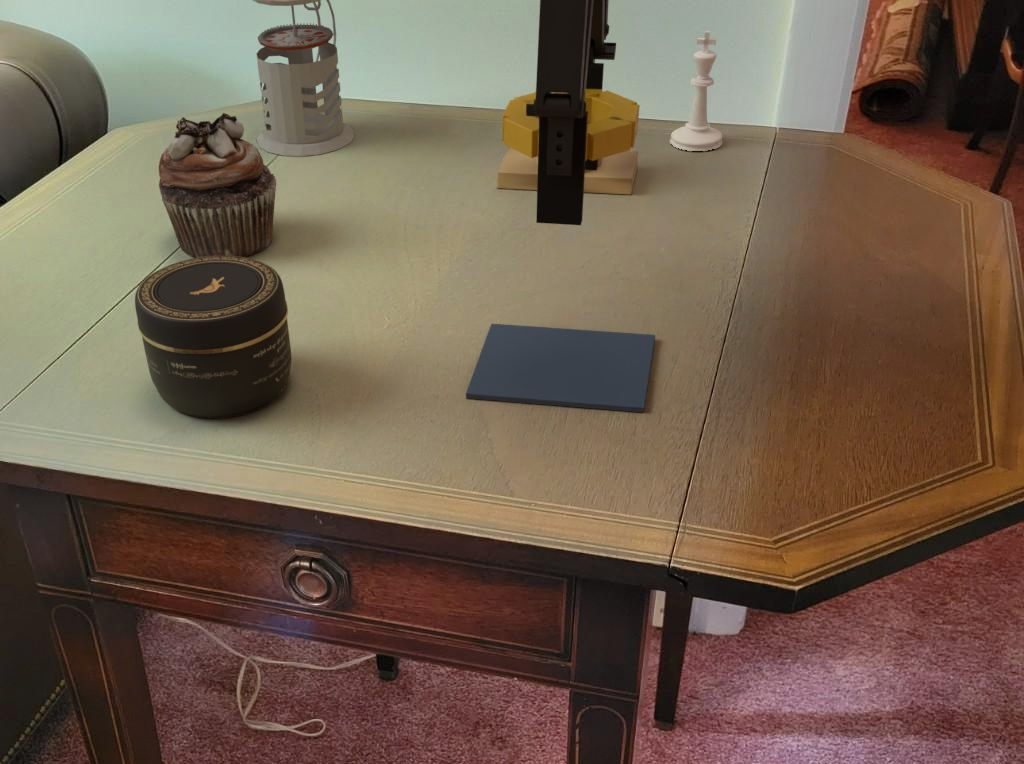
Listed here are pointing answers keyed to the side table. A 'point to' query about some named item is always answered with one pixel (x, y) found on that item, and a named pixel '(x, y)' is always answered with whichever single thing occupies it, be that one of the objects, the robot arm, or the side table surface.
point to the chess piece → (699, 106)
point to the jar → (215, 335)
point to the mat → (564, 367)
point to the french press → (300, 88)
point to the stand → (608, 178)
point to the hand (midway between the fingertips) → (568, 192)
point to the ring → (605, 131)
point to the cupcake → (217, 190)
